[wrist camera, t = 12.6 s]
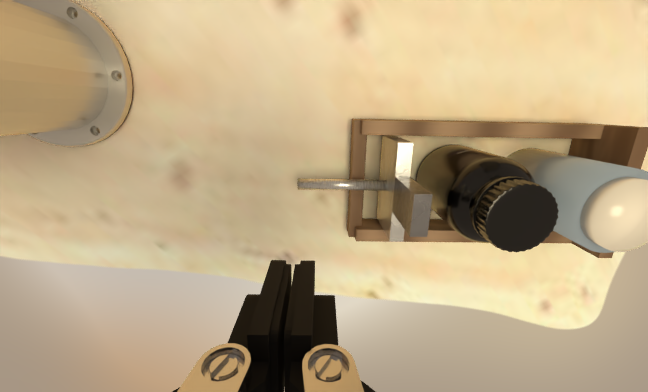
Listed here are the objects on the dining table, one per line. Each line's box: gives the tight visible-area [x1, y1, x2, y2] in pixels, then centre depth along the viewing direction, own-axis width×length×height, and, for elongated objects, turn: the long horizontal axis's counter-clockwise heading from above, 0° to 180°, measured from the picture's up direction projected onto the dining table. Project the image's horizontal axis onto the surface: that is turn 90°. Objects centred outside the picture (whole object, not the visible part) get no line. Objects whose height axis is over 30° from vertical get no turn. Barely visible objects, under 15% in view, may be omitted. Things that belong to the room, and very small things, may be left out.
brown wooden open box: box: [347, 119, 648, 258], centre depth 28 cm, size 23×11×6 cm, turn 89°
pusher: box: [298, 136, 433, 242], centre depth 25 cm, size 9×8×11 cm
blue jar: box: [507, 148, 648, 253], centre depth 26 cm, size 6×6×11 cm
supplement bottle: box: [417, 145, 559, 252], centre depth 25 cm, size 7×7×12 cm
